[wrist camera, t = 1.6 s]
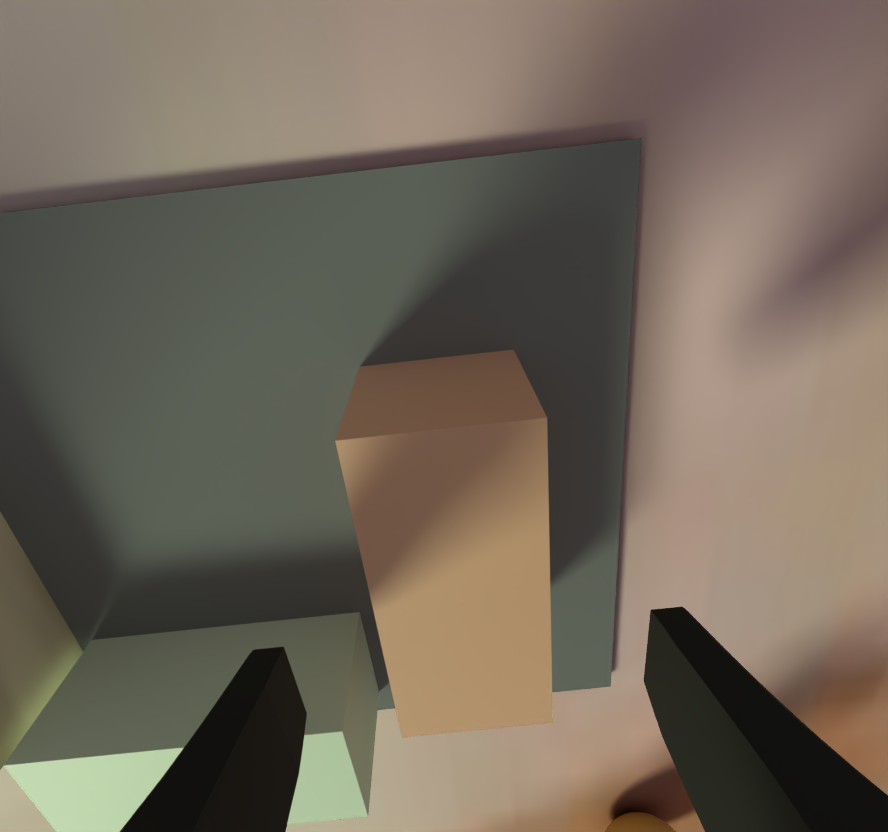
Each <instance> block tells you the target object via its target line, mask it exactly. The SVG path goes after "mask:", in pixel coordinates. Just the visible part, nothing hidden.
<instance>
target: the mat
mask: <svg viewBox="0 0 888 832" xmlns="http://www.w3.org/2000/svg"><path fill="white" fill-rule="evenodd" d="M640 155H641V138H638V139H630V140H621V141H612V142H604V143H595V144H587V145H578V146H569V147H561V148H552V149H544V150H535V151H527V152H518V153H509V154H501V155H492V156H484V157H475V158H467V159H458V160H449V161H441V162H432V163H424V164H415V165H406V166H398V167H389V168H381V169H372V170H364V171H355V172H346V173H338V174H329V175H321V176H312V177H303V178H295V179H286V180H278V181H269V182H261V183H252V184H243V185H235V186H226V187H218V188H209V189H200V190H192V191H183V192H175V193H166V194H158V195H149V196H140V197H132V198H123V199H115V200H106V201H97V202H89V203H80V204H72V205H63V206H55V207H46V208H37V209H29V210H20V211H12V212H3V213H0V512H1V514H2V515H3V517H4V519H5V520H6V522H7V524H8V525H9V527H10V529H11V531H12V532H13V534H14V536H15V537H16V539H17V541H18V542H19V544H20V546H21V547H22V549H23V551H24V552H25V554H26V556H27V558H28V559H29V561H30V563H31V564H32V566H33V568H34V569H35V571H36V573H37V574H38V576H39V578H40V579H41V581H42V583H43V585H44V586H45V588H46V590H47V591H48V593H49V595H50V596H51V598H52V600H53V601H54V603H55V605H56V606H57V608H58V610H59V612H60V613H61V615H62V617H63V618H64V620H65V622H66V623H67V625H68V627H69V628H70V630H71V632H72V633H73V635H74V637H75V639H76V640H77V642H78V644H79V645H80V647H81V649H82V650H83V652H84V650H85V649H86V648H87V646H88V645H89V643H90V642H91V641H92V640H96V639H105V638H115V637H124V636H134V635H144V634H153V633H163V632H173V631H182V630H192V629H201V628H211V627H221V626H230V625H240V624H249V623H259V622H269V621H278V620H288V619H297V618H307V617H317V616H326V615H336V614H345V613H355V612H360V616H361V620H362V624H363V628H364V632H365V636H366V640H367V645H368V649H369V653H370V657H371V661H372V665H373V669H374V674H375V678H376V682H377V686H378V690H379V696H378V708H377V710H382V709H392V708H395V704H394V700H393V695H392V691H391V687H390V682H389V678H388V673H387V669H386V664H385V660H384V656H383V651H382V647H381V642H380V638H379V633H378V629H377V624H376V620H375V616H374V611H373V607H372V602H371V598H370V593H369V589H368V584H367V580H366V576H365V571H364V567H363V562H362V558H361V553H360V549H359V545H358V540H357V536H356V531H355V527H354V522H353V518H352V513H351V509H350V505H349V500H348V496H347V491H346V487H345V482H344V478H343V473H342V469H341V465H340V460H339V456H338V451H337V447H336V442H335V440H336V437H337V434H338V430H339V427H340V424H341V421H342V418H343V415H344V412H345V409H346V406H347V403H348V400H349V397H350V394H351V391H352V388H353V385H354V382H355V378H356V375H357V372H358V369H359V367H361V366H370V365H379V364H388V363H397V362H406V361H415V360H424V359H433V358H442V357H451V356H460V355H469V354H478V353H487V352H496V351H505V350H514V351H515V353H516V355H517V357H518V359H519V361H520V363H521V365H522V368H523V370H524V372H525V374H526V376H527V378H528V380H529V382H530V384H531V386H532V388H533V390H534V392H535V394H536V396H537V398H538V400H539V402H540V404H541V406H542V408H543V410H544V412H545V414H546V416H547V435H548V490H549V544H550V599H551V654H552V692H560V691H570V690H580V689H590V688H599V687H609V686H611V668H612V651H613V633H614V615H615V598H616V580H617V562H618V544H619V527H620V509H621V491H622V474H623V456H624V438H625V421H626V403H627V385H628V368H629V350H630V332H631V314H632V297H633V279H634V261H635V244H636V226H637V208H638V191H639V173H640ZM81 655H82V654H81ZM79 658H80V657H79ZM74 665H75V664H74ZM69 672H70V671H69ZM67 675H68V674H67ZM62 682H63V681H62ZM60 685H61V684H60ZM57 689H58V688H57ZM55 692H56V691H55ZM50 699H51V698H50ZM48 702H49V701H48ZM43 709H44V708H43ZM41 712H42V711H41ZM38 716H39V715H38ZM36 719H37V718H36ZM31 726H32V725H31ZM29 729H30V728H29ZM26 733H27V732H26ZM24 736H25V735H24ZM19 743H20V742H19ZM17 746H18V745H17Z"/></svg>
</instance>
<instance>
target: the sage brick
mask: <svg viewBox="0 0 888 832" xmlns="http://www.w3.org/2000/svg"><path fill="white" fill-rule="evenodd" d="M274 647H284V648H285V651H286V654H287V657H288V660H289V663H290V666H291V669H292V672H293V675H294V677H295V680H296V683H297V686H298V689H299V692H300V695H301V698H302V701H303V703H304V706H305V709H306V712H307V717H306V725H305V734H304V742H303V749H302V756H301V763H300V770H299V775H298V780H297V784H296V788H295V793H294V797H293V801H292V805H291V810H290V814H289V818H288V822H287V824H296V823H306V822H316V821H326V820H337V819H347V818H357V817H367V816H368V812H369V800H370V788H371V777H372V765H373V754H374V742H375V731H376V719H377V708H378V696H379V690H378V686H377V682H376V678H375V674H374V669H373V665H372V661H371V657H370V653H369V649H368V645H367V640H366V636H365V632H364V628H363V624H362V620H361V616H360V612H355V613H345V614H336V615H326V616H317V617H307V618H297V619H288V620H278V621H269V622H259V623H249V624H240V625H230V626H221V627H211V628H201V629H192V630H182V631H173V632H163V633H153V634H144V635H134V636H124V637H115V638H105V639H96V640H92V641H91V642H90V643H89V645H88V646H87V648H86V649H85V650H84V652H83V653H82V655H81V656H80V658H79V659H78V660H77V662H76V663H75V665H74V666H73V667H72V669H71V670H70V672H69V673H68V675H67V676H66V677H65V679H64V680H63V682H62V683H61V685H60V686H59V687H58V689H57V690H56V692H55V693H54V694H53V696H52V697H51V699H50V700H49V702H48V703H47V704H46V706H45V707H44V709H43V710H42V712H41V713H40V714H39V716H38V717H37V719H36V720H35V721H34V723H33V724H32V726H31V727H30V729H29V730H28V731H27V733H26V734H25V736H24V737H23V738H22V740H21V741H20V743H19V744H18V746H17V747H16V748H15V750H14V751H13V753H12V754H11V756H10V757H9V758H8V760H7V761H6V763H5V764H4V765H3V766H4V767H5V768H6V770H7V771H8V772H9V773H10V775H11V776H12V777H13V778H14V780H15V781H16V782H17V783H18V785H19V786H20V787H21V788H22V789H23V791H24V792H25V793H26V794H27V796H28V797H29V798H30V799H31V801H32V802H33V803H34V804H35V806H36V807H37V808H38V809H39V811H40V812H41V813H42V814H43V816H44V817H45V818H46V819H47V821H48V822H49V823H50V824H51V826H52V827H53V828H54V829H55V831H56V832H120V830H121V829H122V828H123V827H124V825H125V824H126V823H127V822H128V820H129V819H130V818H131V817H132V815H133V814H134V813H135V811H136V810H137V809H138V808H139V806H140V805H141V804H142V802H143V801H144V800H145V799H146V797H147V796H148V795H149V793H150V792H151V791H152V790H153V788H154V787H155V786H156V785H157V783H158V782H159V781H160V779H161V778H162V777H163V775H164V774H165V773H166V771H167V770H168V769H169V767H170V766H171V765H172V763H173V762H174V761H175V759H176V758H177V756H178V755H179V754H180V752H181V751H182V750H183V748H184V747H185V745H186V744H187V743H188V741H189V740H190V739H191V737H192V736H193V734H194V733H195V732H196V730H197V729H198V728H199V726H200V725H201V723H202V722H203V721H204V719H205V718H206V716H207V715H208V713H209V712H210V711H211V709H212V708H213V706H214V705H215V703H216V702H217V701H218V699H219V698H220V696H221V695H222V693H223V692H224V690H225V689H226V687H227V686H228V685H229V683H230V682H231V680H232V679H233V677H234V676H235V674H236V673H237V671H238V670H239V668H240V667H241V665H242V664H243V663H244V661H245V660H246V658H247V657H248V655H249V654H250V653H251V652H252V651H253V650H254V649H264V648H274Z"/></svg>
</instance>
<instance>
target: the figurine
mask: <svg viewBox="0 0 888 832" xmlns="http://www.w3.org/2000/svg"><path fill="white" fill-rule="evenodd" d="M605 832H676V831H675V830H674V829H673V828H672V827H671V826H669V825H668V824H667V823H666V822H664V821H663V820H661V819H659V818H658V817H656V816H653V815H651V814H647V813H643V812H630V813H626V814H623V815H621V816H619V817H618V818H616V819H615V820H614V821H613V822H612V823H611V824H610V825H609V826H608V827H607V829H606V831H605Z"/></svg>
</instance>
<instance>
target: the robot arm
mask: <svg viewBox="0 0 888 832" xmlns="http://www.w3.org/2000/svg"><path fill="white" fill-rule="evenodd" d="M644 683H645V686H646V689H647V692H648V695H649V698H650V701H651V704H652V707H653V711H654V713H655V716H656V719H657V722H658V725H659V728H660V731H661V734H662V737H663V739H664V741H665V744H666V746H667V748H668V750H669V753H670V755H671V757H672V759H673V762H674V764H675V766H676V768H677V771H678V773H679V775H680V777H681V779H682V782H683V784H684V786H685V788H686V791H687V793H688V795H689V797H690V799H691V802H692V804H693V806H694V808H695V810H696V813H697V815H698V817H699V819H700V821H701V824H702V826H703V828H704V830H705V832H888V795H887V794H885V793H884V792H883V791H882V790H880V789H879V788H878V787H877V786H876V785H874V784H873V783H872V782H871V781H870V780H868V779H867V778H866V777H865V776H864V775H862V774H861V773H860V772H859V771H858V770H856V769H855V768H854V767H853V766H852V765H850V764H849V763H848V762H847V761H846V760H845V759H844V758H842V757H841V756H840V755H839V754H838V753H837V752H835V751H834V750H833V749H832V748H831V747H830V746H828V745H827V744H826V743H825V742H824V741H823V740H821V739H820V738H819V737H818V736H817V735H816V734H815V733H814V732H813V731H811V730H810V729H809V728H808V727H807V726H806V725H805V724H804V723H802V722H801V721H800V720H799V719H798V718H797V717H796V716H795V715H794V714H793V713H792V712H790V711H789V710H788V709H787V708H786V707H785V706H784V705H783V704H782V703H781V702H780V701H779V700H778V699H777V698H775V697H774V696H773V695H772V694H771V693H770V692H769V691H768V690H767V689H766V688H765V687H764V686H763V685H761V684H760V683H759V682H758V681H757V680H756V679H755V678H754V677H753V676H752V675H751V674H750V673H749V672H748V671H747V670H746V669H745V668H744V667H743V666H742V665H741V664H740V663H739V662H738V661H737V660H736V659H735V658H734V657H733V656H732V655H731V654H730V653H729V652H728V651H727V650H726V649H725V648H724V647H723V646H722V645H721V644H720V643H719V642H718V641H717V640H716V639H715V638H714V637H713V636H712V635H711V634H710V633H709V632H708V631H707V630H706V629H705V628H704V627H703V626H702V625H701V624H700V623H699V622H698V621H697V620H696V619H695V618H694V617H693V616H692V615H691V614H690V613H689V612H688V611H687V610H686V609H685V608H683V607H675V608H665V609H655V610H651V613H650V623H649V633H648V643H647V653H646V663H645V674H644ZM306 717H307V712H306V709H305V706H304V703H303V701H302V698H301V695H300V692H299V689H298V686H297V683H296V680H295V677H294V675H293V672H292V669H291V666H290V663H289V660H288V657H287V654H286V651H285V648H284V647H274V648H264V649H254V650H253V651H252V652H251V653H250V654H249V655H248V657H247V658H246V660H245V661H244V663H243V664H242V665H241V667H240V668H239V670H238V671H237V673H236V674H235V676H234V677H233V679H232V680H231V682H230V683H229V685H228V686H227V687H226V689H225V690H224V692H223V693H222V695H221V696H220V698H219V699H218V701H217V702H216V703H215V705H214V706H213V708H212V709H211V711H210V712H209V713H208V715H207V716H206V718H205V719H204V721H203V722H202V723H201V725H200V726H199V728H198V729H197V730H196V732H195V733H194V734H193V736H192V737H191V739H190V740H189V741H188V743H187V744H186V745H185V747H184V748H183V750H182V751H181V752H180V754H179V755H178V756H177V758H176V759H175V761H174V762H173V763H172V765H171V766H170V767H169V769H168V770H167V771H166V773H165V774H164V775H163V777H162V778H161V779H160V781H159V782H158V783H157V785H156V786H155V787H154V788H153V790H152V791H151V792H150V793H149V795H148V796H147V797H146V799H145V800H144V801H143V802H142V804H141V805H140V806H139V808H138V809H137V810H136V811H135V813H134V814H133V815H132V817H131V818H130V819H129V820H128V822H127V823H126V824H125V825H124V827H123V828H122V829H121V830H120V832H285V831H286V827H287V822H288V818H289V814H290V810H291V805H292V801H293V797H294V793H295V788H296V784H297V780H298V775H299V770H300V763H301V756H302V749H303V742H304V734H305V725H306Z"/></svg>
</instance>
